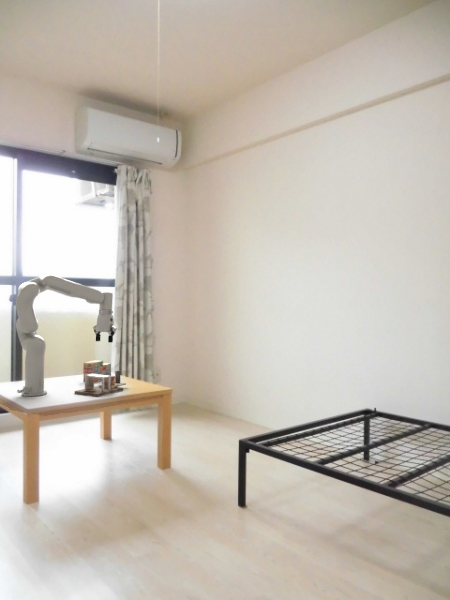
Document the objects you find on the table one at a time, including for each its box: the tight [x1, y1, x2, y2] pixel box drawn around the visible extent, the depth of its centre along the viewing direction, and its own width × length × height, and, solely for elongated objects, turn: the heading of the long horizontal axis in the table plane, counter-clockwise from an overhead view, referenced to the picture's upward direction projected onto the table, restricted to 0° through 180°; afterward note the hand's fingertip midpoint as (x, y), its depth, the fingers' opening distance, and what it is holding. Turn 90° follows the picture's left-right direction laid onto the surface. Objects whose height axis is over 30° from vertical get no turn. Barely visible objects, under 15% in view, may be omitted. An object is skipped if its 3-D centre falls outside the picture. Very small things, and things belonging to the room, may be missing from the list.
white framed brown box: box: [98, 370, 127, 388], centre depth 272 cm, size 13×9×8 cm
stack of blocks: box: [82, 359, 112, 383], centre depth 301 cm, size 21×6×12 cm, turn 161°
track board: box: [74, 385, 124, 398], centre depth 262 cm, size 21×16×2 cm
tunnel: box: [84, 374, 112, 392], centre depth 260 cm, size 6×13×8 cm, turn 63°
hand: (104, 341), depth 278 cm, fingers open, 9 cm apart
